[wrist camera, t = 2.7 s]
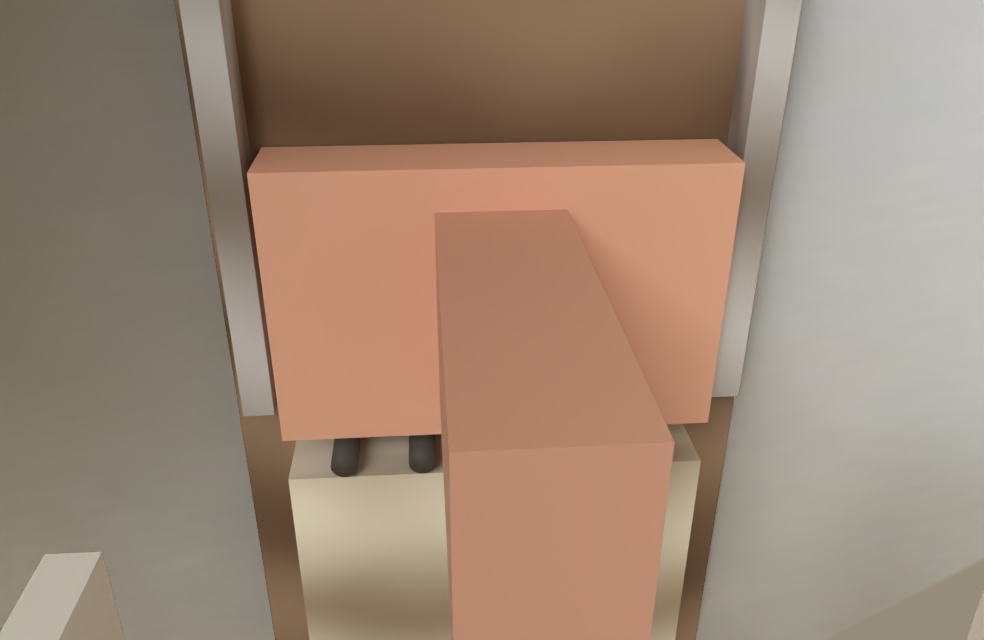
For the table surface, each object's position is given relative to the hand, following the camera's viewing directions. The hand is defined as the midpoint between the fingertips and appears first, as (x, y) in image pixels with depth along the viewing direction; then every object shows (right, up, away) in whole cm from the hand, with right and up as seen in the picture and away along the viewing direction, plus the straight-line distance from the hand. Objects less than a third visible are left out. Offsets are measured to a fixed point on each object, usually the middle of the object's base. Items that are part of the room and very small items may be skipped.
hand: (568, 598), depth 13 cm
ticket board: (-1, +4, +12) cm, 13 cm away
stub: (-1, +5, +9) cm, 11 cm away
